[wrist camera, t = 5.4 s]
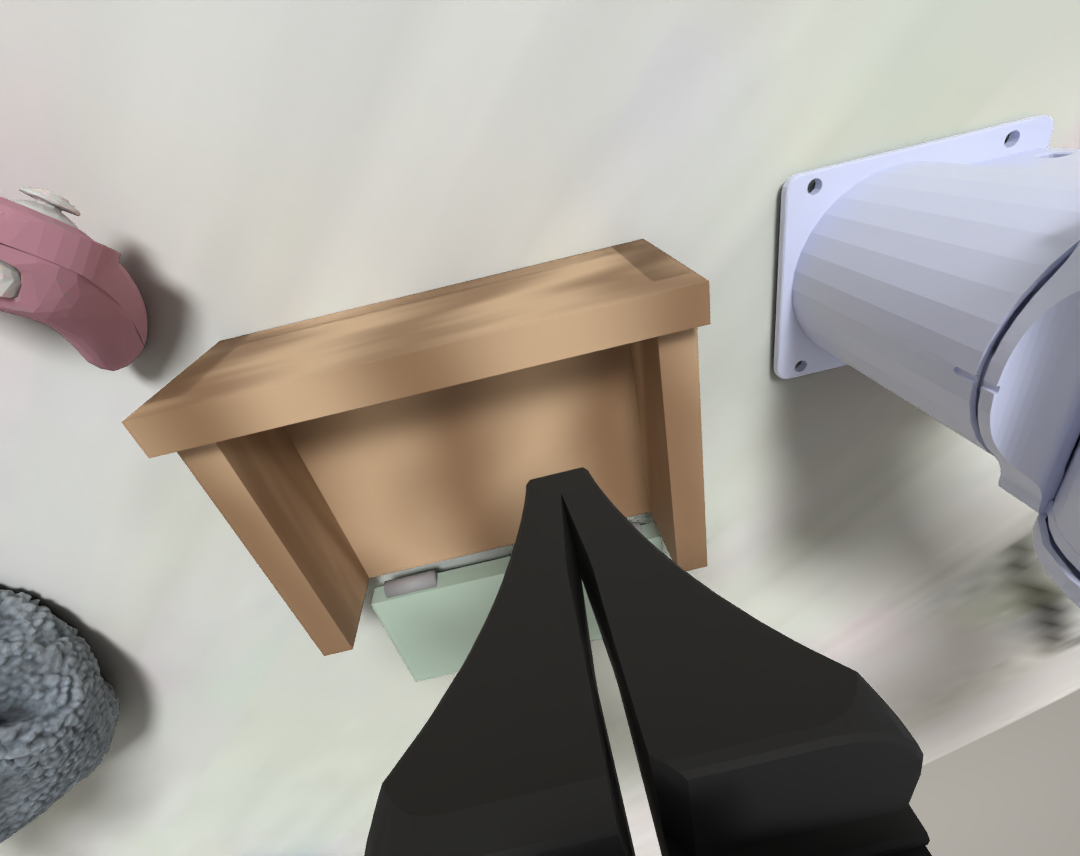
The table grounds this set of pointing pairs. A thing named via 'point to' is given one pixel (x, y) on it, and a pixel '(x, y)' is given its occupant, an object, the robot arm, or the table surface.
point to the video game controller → (68, 281)
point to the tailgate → (451, 612)
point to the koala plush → (46, 710)
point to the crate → (445, 422)
